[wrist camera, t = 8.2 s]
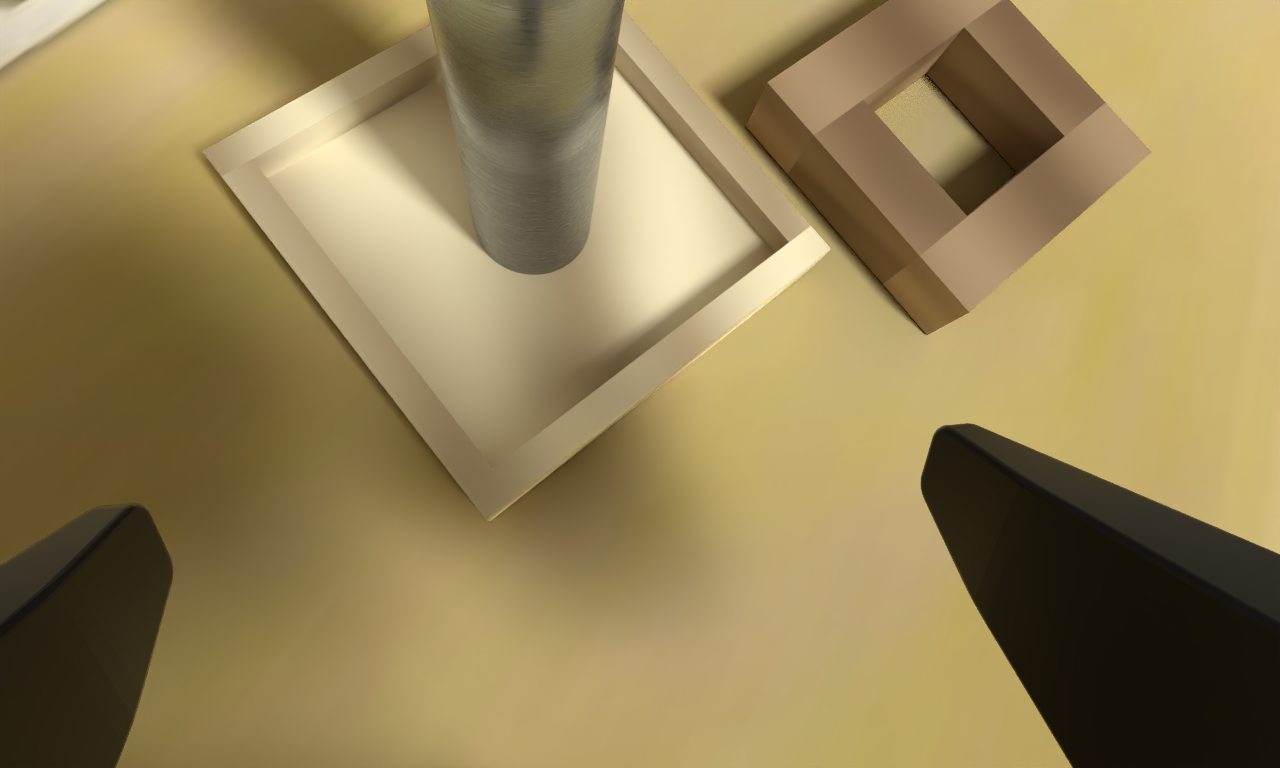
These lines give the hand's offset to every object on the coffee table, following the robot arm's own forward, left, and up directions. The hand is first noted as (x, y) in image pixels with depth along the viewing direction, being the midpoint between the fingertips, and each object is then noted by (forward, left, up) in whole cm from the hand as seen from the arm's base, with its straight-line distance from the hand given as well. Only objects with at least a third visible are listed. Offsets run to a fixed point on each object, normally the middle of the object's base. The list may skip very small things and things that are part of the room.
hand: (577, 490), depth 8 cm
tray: (+4, +6, -9) cm, 12 cm away
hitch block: (+15, +1, -9) cm, 18 cm away
